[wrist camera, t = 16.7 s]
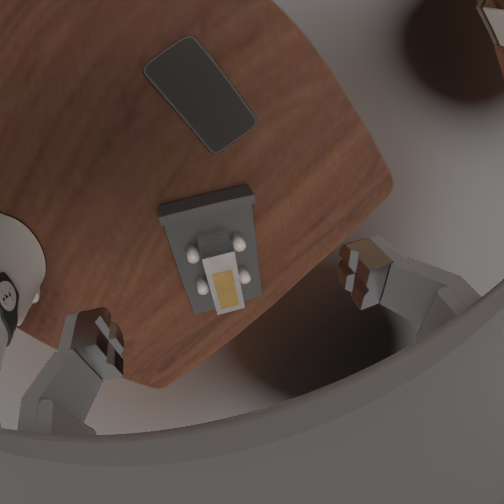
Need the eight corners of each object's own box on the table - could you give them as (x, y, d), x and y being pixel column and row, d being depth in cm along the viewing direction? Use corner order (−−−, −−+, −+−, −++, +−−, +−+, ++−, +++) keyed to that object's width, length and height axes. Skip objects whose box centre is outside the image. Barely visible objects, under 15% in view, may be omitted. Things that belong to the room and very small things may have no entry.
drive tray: (193, 309, 46) (196, 325, 43) (159, 205, 34) (158, 218, 31) (260, 291, 48) (266, 306, 45) (247, 184, 36) (254, 194, 33)
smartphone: (214, 158, 32) (138, 69, 23) (213, 156, 33) (139, 69, 24) (261, 123, 31) (191, 31, 22) (259, 122, 32) (190, 32, 23)
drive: (196, 234, 37) (202, 260, 32) (224, 227, 37) (234, 251, 32) (210, 287, 43) (217, 315, 38) (235, 281, 43) (245, 308, 38)
